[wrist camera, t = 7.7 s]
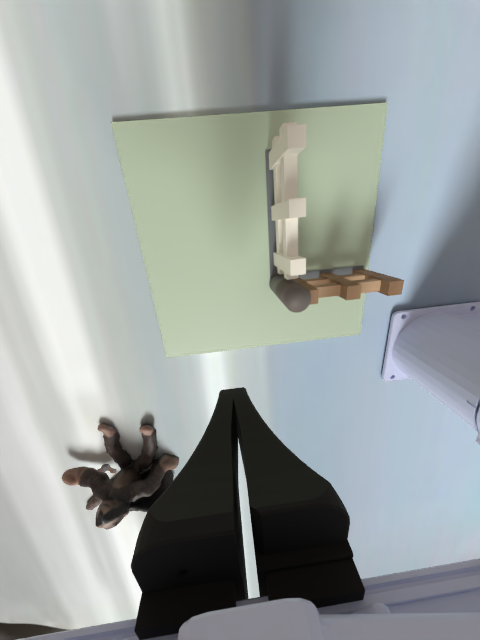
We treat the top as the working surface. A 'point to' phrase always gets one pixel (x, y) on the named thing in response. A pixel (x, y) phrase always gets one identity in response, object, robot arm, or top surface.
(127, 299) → the top surface
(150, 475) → the stuffed animal
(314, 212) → the card
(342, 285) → the fixed fence panel
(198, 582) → the robot arm
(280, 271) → the folding fence panel
